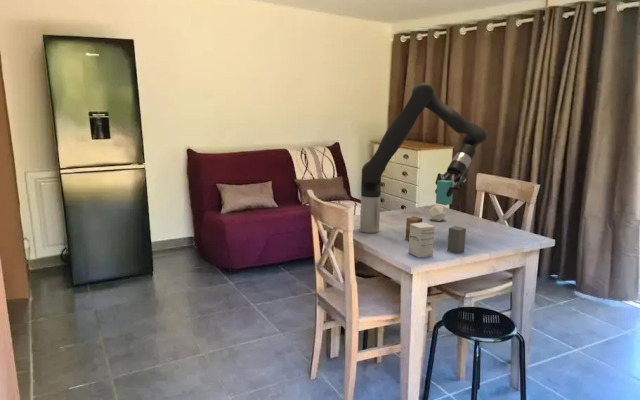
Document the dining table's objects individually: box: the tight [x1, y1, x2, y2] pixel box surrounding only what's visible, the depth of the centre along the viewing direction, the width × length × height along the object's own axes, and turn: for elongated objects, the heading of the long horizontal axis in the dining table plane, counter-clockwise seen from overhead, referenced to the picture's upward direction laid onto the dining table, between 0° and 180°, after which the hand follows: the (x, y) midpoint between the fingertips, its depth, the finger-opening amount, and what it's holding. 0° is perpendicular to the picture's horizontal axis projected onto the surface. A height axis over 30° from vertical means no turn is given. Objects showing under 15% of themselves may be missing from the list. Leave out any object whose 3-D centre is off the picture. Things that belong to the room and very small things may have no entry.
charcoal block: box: [446, 225, 467, 254], centre depth 207 cm, size 5×5×10 cm
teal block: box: [435, 180, 454, 206], centre depth 216 cm, size 5×5×10 cm
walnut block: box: [405, 216, 423, 241], centre depth 223 cm, size 5×5×10 cm
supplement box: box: [407, 221, 436, 259], centre depth 202 cm, size 7×7×13 cm
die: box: [428, 204, 448, 223], centre depth 260 cm, size 8×9×10 cm
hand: (442, 194), depth 214 cm, fingers closed on teal block, 5 cm apart
